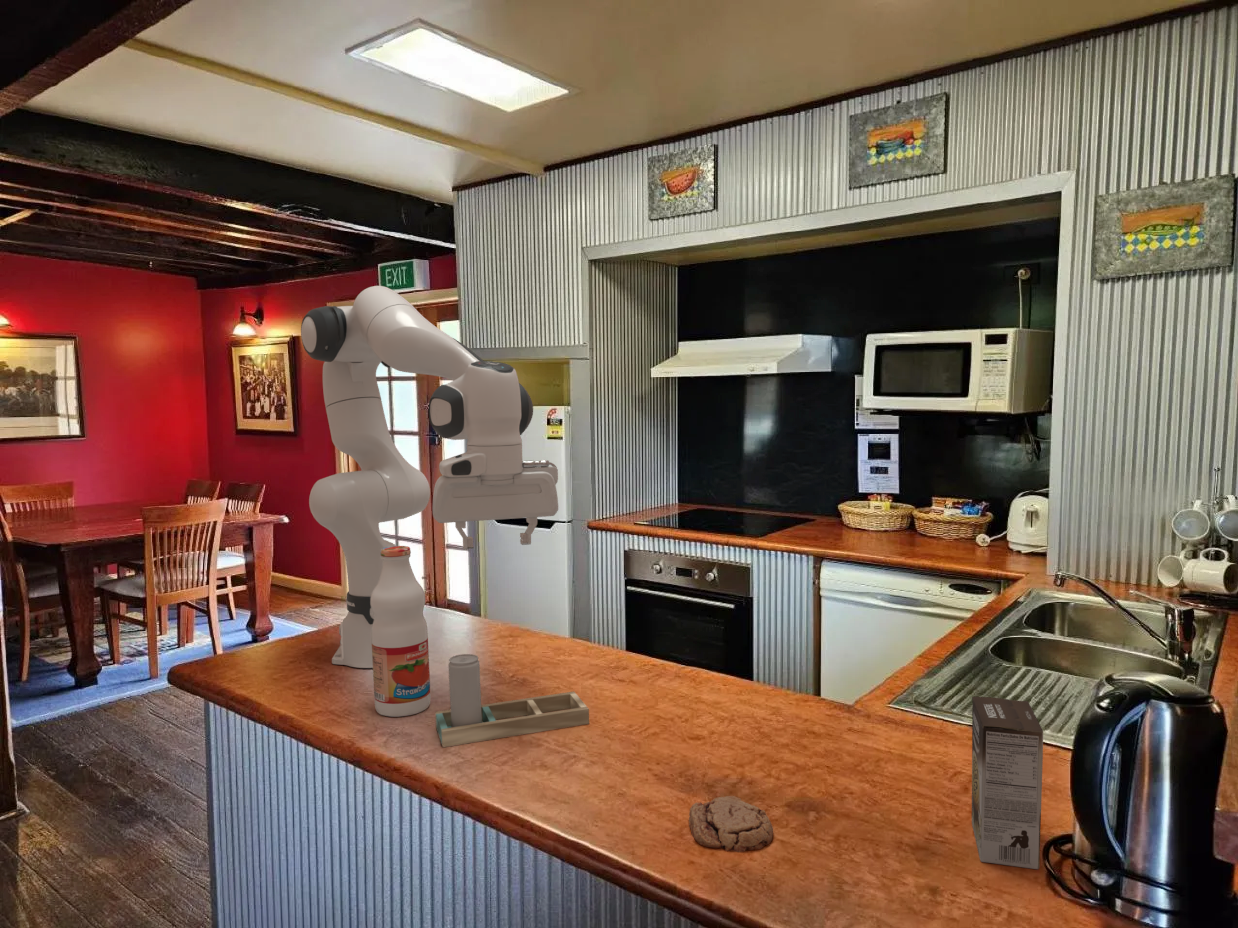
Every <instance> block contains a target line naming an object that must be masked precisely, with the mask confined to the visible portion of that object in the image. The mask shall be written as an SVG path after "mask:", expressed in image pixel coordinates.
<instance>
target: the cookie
mask: <svg viewBox="0 0 1238 928" xmlns="http://www.w3.org/2000/svg"><path fill="white" fill-rule="evenodd" d="M688 816H689V818H688V823H689V824H688V826H689V828H690V831H691V832H690V833H691V835H692V836H693V839H694V840H695V842H697V844H699V845H700V846H704V847H707V848H713V849H714V848H716V849H724V850H725V852H729V851H732V852H737V853H744V852H745V851H746V850H748V851H753V850H761V849H762V848H763V847H764V846H766V845H767V846H768V845H769V844H770V843H771V842H772V839H773V834H774V827H773V825H772V821H771V819H770V818H769V817H768V815H767V812H766V810H764V809H761V808H760V807H758V806H756V805H753V804H750V803H748V802H745V801H743V800H742V798H741V797H738V796H735V795H726V796H719V797H715V798H713V799H712V800H711V801H706V802H704V803H703V802H695V803H693V804H692V805H691V807H690V808H689V815H688Z"/></svg>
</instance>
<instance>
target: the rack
mask: <svg viewBox="0 0 1238 928" xmlns="http://www.w3.org/2000/svg"><path fill="white" fill-rule="evenodd" d="M481 716H482V723H478V724H471V725H465V726H458V727H452V728H451V709H445V710H440V711H435V714H434V718H435V728H436V731H437V735H438V737H439V740H440V743H441V746H442V748H447V747H453V746H459V745H465V744H471V743H472V744H473V743H479V742H483V741H485V742H486V741H491V740H497V739H501V738H502V739H503V738H508V737H515V736H516V737H517V736H521V735H527V734H533V733H540V732H541V733H542V732H546V731H552V730H558V729H565V728H573V727H579V726H583V725H589V724H590V708H588V706H587V705H586V704H585V702H584V701H583V700H582V699H581V698H580V696H579V695H578V694H577V693H576V691H568V692H560V693H554V694H547V695H541V696H535V697H533V696H532V697H527V698H520V699H513V700H507V701H500V702H493V703H486V704H481Z"/></svg>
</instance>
